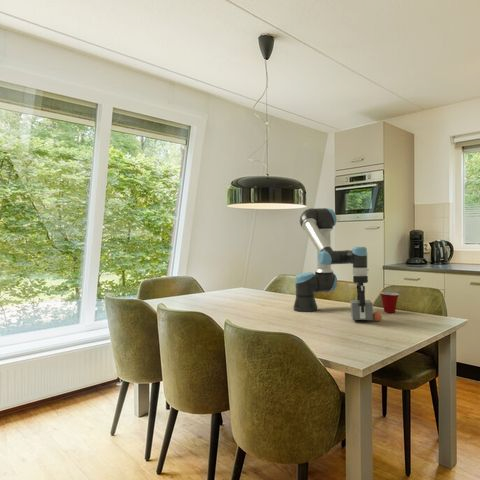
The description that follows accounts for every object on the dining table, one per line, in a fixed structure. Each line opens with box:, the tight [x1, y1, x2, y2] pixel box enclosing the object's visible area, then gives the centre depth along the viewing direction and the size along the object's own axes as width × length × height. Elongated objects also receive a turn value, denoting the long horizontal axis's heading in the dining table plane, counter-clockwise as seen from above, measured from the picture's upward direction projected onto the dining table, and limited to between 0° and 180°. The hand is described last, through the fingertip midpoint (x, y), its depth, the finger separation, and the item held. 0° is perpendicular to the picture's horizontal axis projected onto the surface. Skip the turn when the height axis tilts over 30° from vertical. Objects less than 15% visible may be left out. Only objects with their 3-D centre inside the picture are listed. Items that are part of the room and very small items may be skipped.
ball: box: [372, 311, 383, 322], centre depth 201 cm, size 5×5×5 cm
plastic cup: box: [379, 291, 400, 314], centre depth 223 cm, size 11×11×12 cm
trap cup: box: [350, 299, 374, 321], centre depth 202 cm, size 10×10×9 cm
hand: (361, 316), depth 202 cm, fingers closed on trap cup, 10 cm apart
